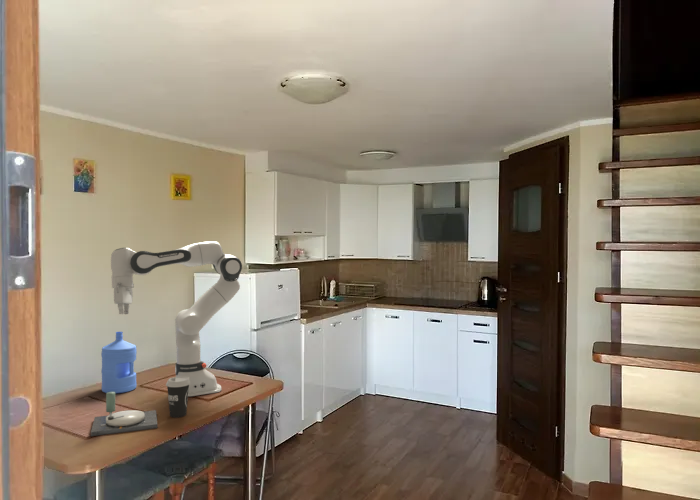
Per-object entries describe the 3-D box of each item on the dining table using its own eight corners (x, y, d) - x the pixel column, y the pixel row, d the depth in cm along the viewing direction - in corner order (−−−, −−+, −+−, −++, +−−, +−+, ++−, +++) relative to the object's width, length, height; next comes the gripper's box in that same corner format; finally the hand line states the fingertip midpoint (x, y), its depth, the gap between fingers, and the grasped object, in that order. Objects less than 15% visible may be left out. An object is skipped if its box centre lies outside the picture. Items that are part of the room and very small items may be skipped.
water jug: (94, 393, 244) (94, 334, 243) (113, 384, 259) (113, 329, 259) (125, 394, 242) (125, 335, 242) (142, 385, 257) (142, 329, 257)
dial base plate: (156, 413, 215) (155, 409, 215) (157, 428, 198) (157, 423, 198) (94, 420, 206) (94, 416, 206) (90, 436, 189) (90, 431, 189)
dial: (137, 411, 212) (137, 383, 212) (150, 420, 202) (150, 390, 201) (100, 419, 202) (100, 389, 202) (112, 429, 192) (112, 397, 192)
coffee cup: (171, 411, 218) (171, 375, 218) (193, 411, 218) (193, 376, 218) (162, 418, 209) (162, 381, 209) (185, 419, 208) (185, 382, 208)
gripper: (124, 281, 223) (126, 313, 221) (134, 284, 243) (136, 313, 241) (109, 282, 222) (110, 314, 220) (120, 285, 242) (121, 315, 240)
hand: (124, 314), depth 231 cm, fingers open, 8 cm apart
